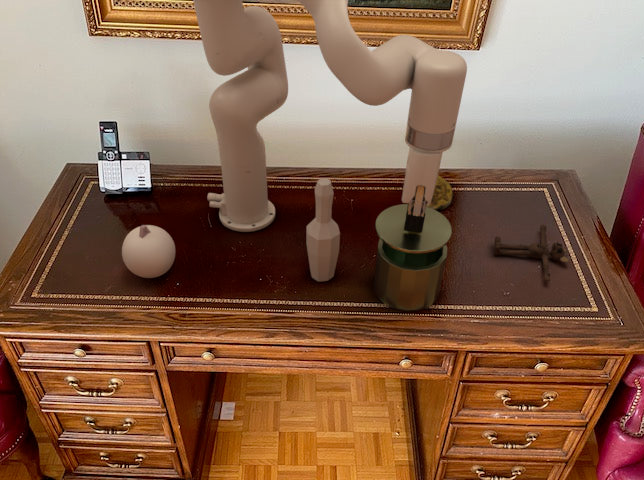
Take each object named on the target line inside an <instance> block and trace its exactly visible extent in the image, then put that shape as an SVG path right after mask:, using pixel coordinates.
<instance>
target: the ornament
mask: <svg viewBox="0 0 644 480" xmlns="http://www.w3.org/2000/svg"><path fill="white" fill-rule="evenodd" d="M121 256H122V261H123V263H124V265H125V266H126V268H127V269H128V270H129V271H130V272H131V273H132V274H134V275H136V276H137V277H140V278H144V279H155V278H159V277H160V276H163V275H164V274H166V273H167V272H168V271H169V270H170V269H171V267H172V266H173V264H174V262H175V259H176V244H175V241H174V240H173V237H172V236H171V235H170V234H169V233H168V231H166V230H165V229H163V228H161V227H159V226H156V225H152V224H141V225H140V226H137V227H135V228H134V229H132V230H131V231H129V233H127V235H126V236H125V238H124V239H123V242H122V246H121Z"/></svg>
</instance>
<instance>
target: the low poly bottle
mask: <svg viewBox="0 0 644 480" xmlns="http://www.w3.org/2000/svg"><path fill="white" fill-rule="evenodd" d="M334 194H335V193H334V189H333V184H332V182H331V179H329V178H325V177H324V178H320V179H318V180H317V182H316V184H315V187H314V197H315V198H314V199H315V217H314V218H313V219H312V220H311V221H310V222H309V223H308V224H307V225H306V227H305V228H306V231H305V232H306V234H305V235H306V238H305V239H306V240H305V241H306V242H305V244H306V250H307V256H308V257H307V258H308V264H309V271H310V277H311V278H312V279H313V280H315V281H316V282H328V281H330V280H331V279H332V278H333V277H334V276H335V272H336V267H337V263H338V257H339V253H340V241H341V232H340V227H339V224H338V223H337V222H336V221H335V220H334V219H333V218H332V214H333V213H332V207H333V201H334Z"/></svg>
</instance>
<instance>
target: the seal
mask: <svg viewBox="0 0 644 480" xmlns="http://www.w3.org/2000/svg"><path fill="white" fill-rule="evenodd" d="M453 194H454V193H453V189H452V186H451V184H450V183H449V182H448V181H447V180H446V179H445V178H443V177H442V176H441V175H439V174H438V177H437V181H436V185H435V189H434V193H433V196H432V200H431V204H430V205H428V206H427V205H426V207H429V208H431V209H434V210H436V211H439V210H440V211H443V210H445V209H446V208H448V207H449V206H450V205H451V203H452V200H453Z"/></svg>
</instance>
